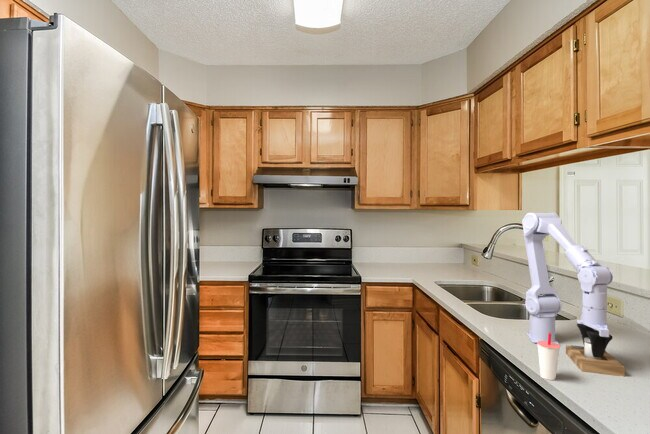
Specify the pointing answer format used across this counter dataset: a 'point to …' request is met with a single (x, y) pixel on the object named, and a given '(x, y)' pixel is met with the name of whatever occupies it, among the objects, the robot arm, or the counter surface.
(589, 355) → the salt shaker
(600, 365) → the jig
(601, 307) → the robot arm
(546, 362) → the cup
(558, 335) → the counter surface
